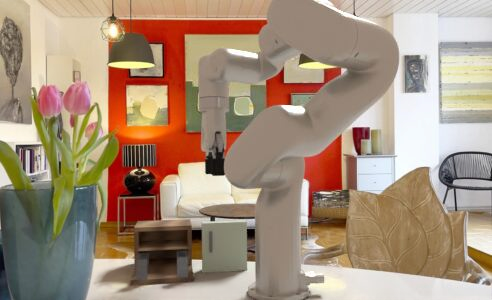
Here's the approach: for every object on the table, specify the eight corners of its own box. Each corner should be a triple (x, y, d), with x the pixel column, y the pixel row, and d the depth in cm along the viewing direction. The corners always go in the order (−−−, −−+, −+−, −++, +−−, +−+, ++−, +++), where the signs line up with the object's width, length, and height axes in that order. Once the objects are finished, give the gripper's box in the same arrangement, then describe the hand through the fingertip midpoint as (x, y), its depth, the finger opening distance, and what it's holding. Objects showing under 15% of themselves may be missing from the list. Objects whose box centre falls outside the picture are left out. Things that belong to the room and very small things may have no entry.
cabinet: (190, 259, 114) (190, 219, 114) (193, 281, 95) (193, 232, 95) (138, 262, 112) (137, 221, 112) (130, 284, 92) (129, 235, 92)
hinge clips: (187, 269, 101) (186, 250, 101) (187, 276, 94) (187, 257, 95) (138, 272, 99) (138, 253, 99) (136, 280, 93) (136, 259, 93)
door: (245, 267, 106) (245, 220, 106) (247, 270, 103) (247, 222, 103) (202, 269, 104) (201, 221, 104) (203, 273, 101) (202, 223, 101)
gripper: (194, 109, 111) (195, 173, 111) (204, 101, 94) (205, 176, 94) (221, 110, 113) (222, 173, 113) (236, 102, 96) (237, 176, 96)
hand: (214, 174), depth 103 cm, fingers open, 9 cm apart
